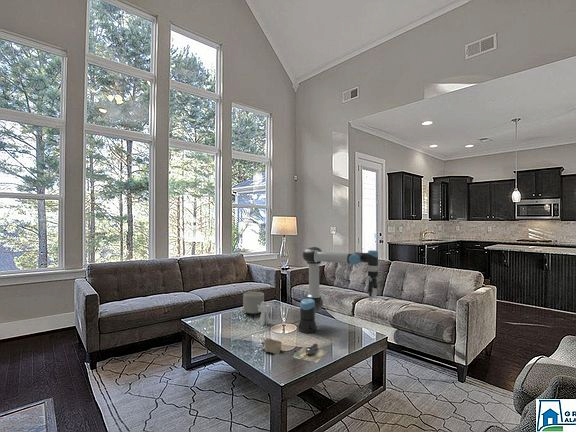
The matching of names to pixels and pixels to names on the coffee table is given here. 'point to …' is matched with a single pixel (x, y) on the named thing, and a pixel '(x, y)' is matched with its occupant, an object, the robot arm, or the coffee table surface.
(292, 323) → the coffee table surface
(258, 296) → the planter
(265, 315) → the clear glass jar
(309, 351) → the peg dial
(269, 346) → the decorative stone
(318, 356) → the tuner board
